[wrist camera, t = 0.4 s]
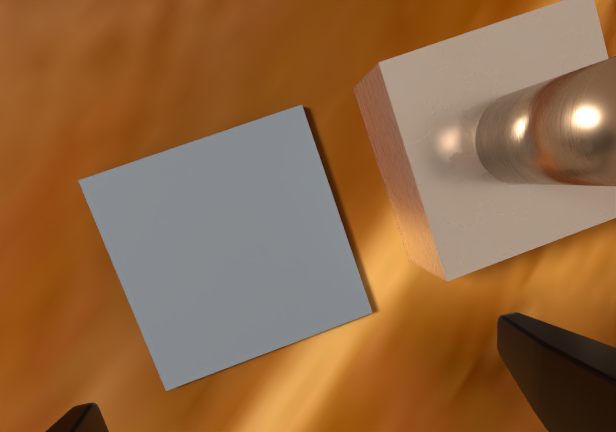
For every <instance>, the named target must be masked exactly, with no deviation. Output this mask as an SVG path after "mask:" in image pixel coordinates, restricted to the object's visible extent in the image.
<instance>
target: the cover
mask: <svg viewBox="0 0 616 432" xmlns="http://www.w3.org/2000/svg"><path fill="white" fill-rule="evenodd" d="M353 89H354V92H355V95H356V98H357V102H358V105H359V108H360V111H361V114H362V117H363V120H364V123H365V126H366V129H367V133H368V136H369V139H370V142H371V145H372V148H373V151H374V154H375V157H376V161H377V164H378V167H379V170H380V173H381V176H382V179H383V182H384V185H385V188H386V192H387V195H388V198H389V201H390V204H391V207H392V210H393V213H394V216H395V219H396V223H397V226H398V229H399V232H400V235H401V238H402V241H403V244H404V247H405V251H406V254H407V257H408V260H410V261H412V262H413V263H415V264H417V265H419V266H420V267H422V268H424V269H426V270H427V271H429V272H431V273H433V274H434V275H436V276H438V277H440V278H441V279H443V280H445V281H450V280H453V279H455V278H458V277H461V276H463V275H466V274H469V273H471V272H474V271H476V270H479V269H482V268H484V267H487V266H490V265H492V264H495V263H498V262H500V261H503V260H506V259H508V258H511V257H513V256H516V255H519V254H521V253H524V252H527V251H529V250H532V249H535V248H537V247H540V246H543V245H545V244H548V243H551V242H553V241H556V240H558V239H561V238H564V237H566V236H569V235H572V234H574V233H577V232H580V231H582V230H585V229H588V228H590V227H593V226H595V225H598V224H601V223H603V222H606V221H609V220H611V219H614V218H616V56H615V57H612V58H609V59H608V55H607V50H606V46H605V42H604V38H603V34H602V30H601V26H600V22H599V17H598V13H597V9H596V5H595V1H594V0H563V1H560V2H557V3H554V4H551V5H548V6H545V7H542V8H539V9H536V10H534V11H531V12H528V13H525V14H522V15H519V16H516V17H513V18H510V19H507V20H504V21H501V22H498V23H495V24H492V25H489V26H486V27H483V28H480V29H477V30H474V31H471V32H468V33H465V34H462V35H459V36H456V37H453V38H450V39H447V40H444V41H441V42H438V43H435V44H432V45H429V46H426V47H424V48H421V49H418V50H415V51H412V52H409V53H406V54H403V55H400V56H397V57H394V58H391V59H388V60H385V61H382V62H379V63H378V64H377V65H376V66H375V67H374V68H373V69H372V70H371V71H370V72H369V73H368V74H367V75H366V76H365V77H364V78H363V79H362V80H361V81H360V82H359V83H358V84H357V85H356V86H355V87H354V88H353Z"/></svg>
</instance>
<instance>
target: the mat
mask: <svg viewBox="0 0 616 432" xmlns="http://www.w3.org/2000/svg"><path fill="white" fill-rule="evenodd" d="M78 181H79V183H80V186H81V188H82V191H83V193H84V195H85V198H86V200H87V203H88V205H89V207H90V210H91V212H92V215H93V217H94V219H95V222H96V224H97V227H98V229H99V231H100V234H101V236H102V239H103V241H104V243H105V246H106V248H107V251H108V253H109V255H110V258H111V260H112V263H113V265H114V267H115V270H116V272H117V275H118V277H119V279H120V282H121V284H122V287H123V289H124V291H125V294H126V296H127V299H128V301H129V303H130V306H131V308H132V311H133V313H134V315H135V318H136V320H137V323H138V325H139V327H140V330H141V332H142V335H143V337H144V339H145V342H146V344H147V347H148V349H149V351H150V354H151V356H152V358H153V361H154V363H155V366H156V368H157V370H158V373H159V375H160V378H161V380H162V382H163V385H164V387H165V390H166V391H168V390H170V389H173V388H176V387H178V386H181V385H183V384H186V383H189V382H191V381H194V380H197V379H199V378H202V377H205V376H207V375H210V374H213V373H215V372H218V371H220V370H223V369H226V368H228V367H231V366H234V365H236V364H239V363H242V362H244V361H247V360H250V359H252V358H255V357H257V356H260V355H263V354H265V353H268V352H271V351H273V350H276V349H279V348H281V347H284V346H287V345H289V344H292V343H294V342H297V341H300V340H302V339H305V338H308V337H310V336H313V335H316V334H318V333H321V332H323V331H326V330H329V329H331V328H334V327H337V326H339V325H342V324H345V323H347V322H350V321H353V320H355V319H358V318H360V317H363V316H366V315H368V314H371V313H372V310H371V307H370V304H369V301H368V298H367V295H366V292H365V289H364V286H363V283H362V280H361V277H360V274H359V271H358V268H357V265H356V262H355V260H354V257H353V254H352V251H351V248H350V245H349V242H348V239H347V236H346V233H345V230H344V227H343V224H342V221H341V218H340V215H339V212H338V209H337V206H336V204H335V201H334V198H333V195H332V192H331V189H330V186H329V183H328V180H327V177H326V174H325V171H324V168H323V165H322V162H321V159H320V156H319V153H318V151H317V148H316V145H315V142H314V139H313V136H312V133H311V130H310V127H309V124H308V121H307V118H306V115H305V112H304V109H303V106H302V105H299V106H296V107H293V108H290V109H288V110H285V111H282V112H279V113H276V114H273V115H270V116H267V117H264V118H261V119H258V120H255V121H252V122H249V123H246V124H243V125H240V126H237V127H234V128H232V129H229V130H226V131H223V132H220V133H217V134H214V135H211V136H208V137H205V138H202V139H199V140H196V141H193V142H190V143H187V144H184V145H181V146H178V147H175V148H173V149H170V150H167V151H164V152H161V153H158V154H155V155H152V156H149V157H146V158H143V159H140V160H137V161H134V162H131V163H128V164H125V165H122V166H119V167H117V168H114V169H111V170H108V171H105V172H102V173H99V174H96V175H93V176H90V177H87V178H84V179H81V180H78Z"/></svg>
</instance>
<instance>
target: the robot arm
mask: <svg viewBox="0 0 616 432" xmlns="http://www.w3.org/2000/svg"><path fill="white" fill-rule="evenodd" d="M497 348H498V352H499V354H500V356H501V358H502V360H503V361H504V363H505V364H506V366H507V368H508V369H509V371H510V373H511V374H512V376H513V378H514V379H515V381H516V382H517V384H518V386H519V387H520V389H521V391H522V392H523V394H524V396H525V397H526V399H527V400H528V402H529V404H530V405H531V407H532V408H533V410H534V412H535V413H536V415H537V416H538V418H539V419H540V420H541V422H542V423H543V424H544V426H545V427H546V428H547V430H548V431H549V432H616V348H615V347H612V346H609V345H607V344H604V343H601V342H598V341H596V340H593V339H590V338H587V337H584V336H582V335H579V334H576V333H573V332H570V331H568V330H565V329H562V328H559V327H557V326H554V325H551V324H548V323H545V322H543V321H540V320H537V319H534V318H532V317H529V316H526V315H523V314H520V313H516V312H515V313H510V314H505V315H501V316H500V317H499V318H498V322H497ZM46 432H108V429H107V426H106V424H105V421H104V419H103V416H102V414H101V412H100V409H99V407H98V405H97V404H96V403H87V404H82V405H78V406H75V407H73V408H72V409H70V410H69V411H68V412H67V413H66V414H65V415H64V416H63V417H61V418H60V419H59V420H58V421H57V422H56V423H55V424H54V425H52V426H51V427H50V428H49V429H48V430H47V431H46Z"/></svg>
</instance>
